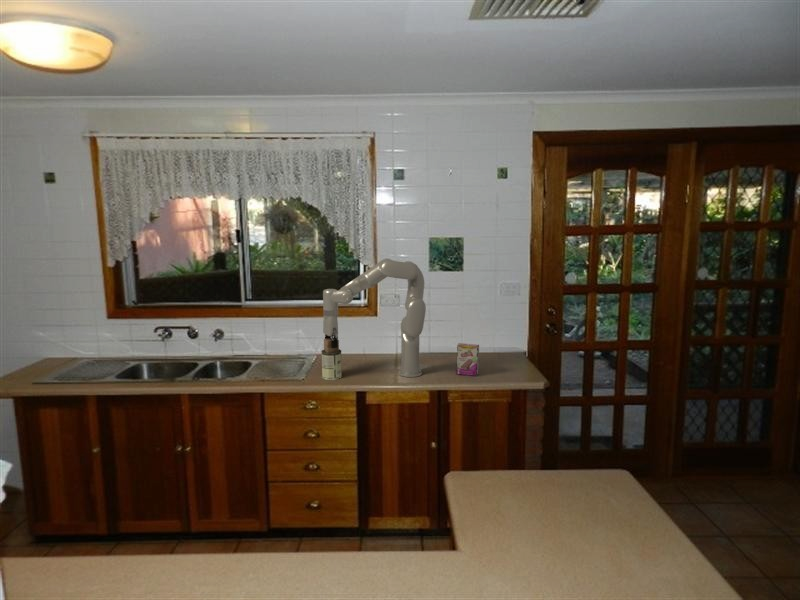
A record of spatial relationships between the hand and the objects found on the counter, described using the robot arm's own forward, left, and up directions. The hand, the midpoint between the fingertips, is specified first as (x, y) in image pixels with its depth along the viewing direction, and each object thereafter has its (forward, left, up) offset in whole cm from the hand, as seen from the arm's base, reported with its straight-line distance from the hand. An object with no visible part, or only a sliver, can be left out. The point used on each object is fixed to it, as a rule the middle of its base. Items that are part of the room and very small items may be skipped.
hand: (331, 345), depth 263 cm
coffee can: (0, 0, -17) cm, 17 cm away
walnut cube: (0, 0, -3) cm, 3 cm away
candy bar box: (-66, +29, -17) cm, 74 cm away
